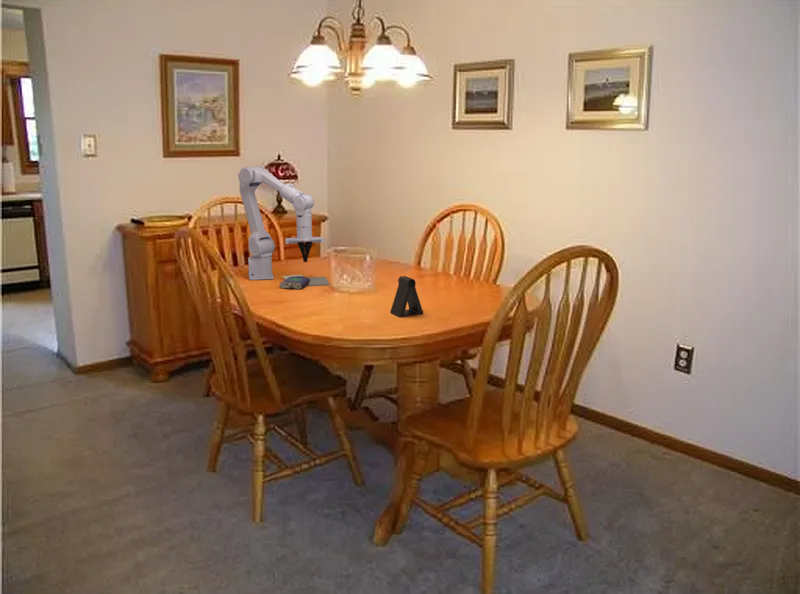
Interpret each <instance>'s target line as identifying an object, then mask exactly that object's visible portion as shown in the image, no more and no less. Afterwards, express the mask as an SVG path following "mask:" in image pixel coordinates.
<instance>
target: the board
mask: <svg viewBox="0 0 800 594" xmlns="http://www.w3.org/2000/svg"><path fill="white" fill-rule="evenodd" d="M306 277H307V276H306ZM307 278H309V279H310V282H309V283H308V284H307V285H308V287H315V286H316V287H317V286H321V287H322V286H331V285H330V284H331V283H330V282H329V280H328V278H327V277H326V276H311V277H307Z"/></svg>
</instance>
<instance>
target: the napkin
mask: <svg viewBox="0 0 800 594" xmlns="http://www.w3.org/2000/svg"><path fill="white" fill-rule="evenodd" d="M293 276H304V275H303V274H292V275H291V274H290V275H283V276H282V279H284V280H286V279H287V278H289V277H293Z"/></svg>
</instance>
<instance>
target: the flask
mask: <svg viewBox="0 0 800 594" xmlns="http://www.w3.org/2000/svg"><path fill="white" fill-rule="evenodd" d="M309 282H310V279H309V278H307V276H304V275H303V276H293V277H289V278H287V279H286V280H285V279H284V280H283V281H282V282H280V283H279V288H280V289H295V290H302V289H303V288H304V287H305V286H307V285H308V283H309Z"/></svg>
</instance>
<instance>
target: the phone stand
mask: <svg viewBox="0 0 800 594" xmlns="http://www.w3.org/2000/svg"><path fill="white" fill-rule="evenodd" d="M397 281H398V286H397V288H396V293H395V295H394V299H393V302H392V305H391V309H390V314H392V315H395V316H396V317H397V318H404V317H411V316H418V315H423V314H424V310H423V308H422V307H423V306H422V304H421V301H420V298H419V295H418V293H417V289H416V280H415V279H414V278H411V277H408V276H406V275H403V276H399V277H398V280H397ZM407 306H408V308H407Z"/></svg>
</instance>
